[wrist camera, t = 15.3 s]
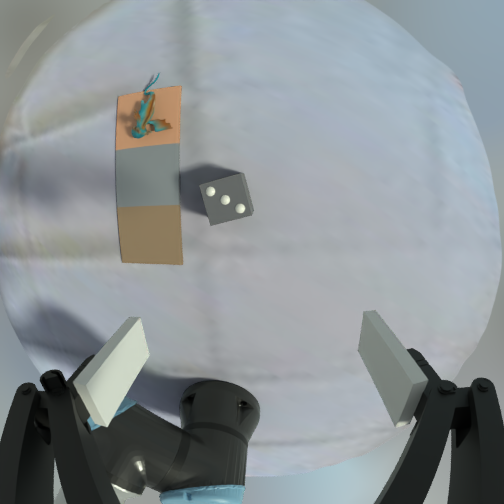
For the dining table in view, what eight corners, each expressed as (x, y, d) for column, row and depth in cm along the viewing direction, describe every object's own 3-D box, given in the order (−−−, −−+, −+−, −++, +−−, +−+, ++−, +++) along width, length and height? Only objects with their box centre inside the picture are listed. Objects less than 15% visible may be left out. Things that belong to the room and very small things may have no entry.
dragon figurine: (112, 100, 31) (114, 139, 30) (141, 64, 27) (146, 101, 26) (146, 110, 37) (153, 148, 35) (176, 79, 33) (186, 116, 32)
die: (253, 209, 36) (251, 215, 32) (217, 219, 37) (210, 226, 32) (244, 173, 35) (240, 173, 30) (207, 183, 36) (198, 185, 31)
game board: (183, 264, 39) (182, 264, 39) (123, 261, 39) (122, 262, 39) (181, 86, 32) (180, 85, 32) (119, 97, 32) (118, 96, 32)
